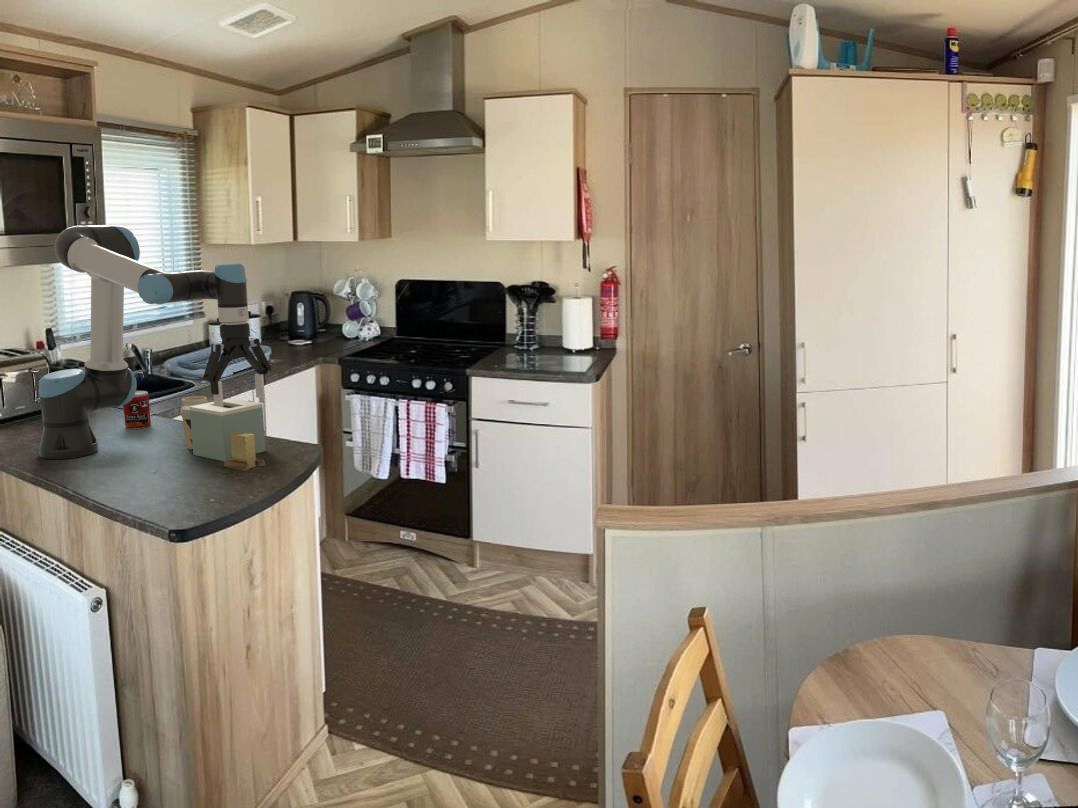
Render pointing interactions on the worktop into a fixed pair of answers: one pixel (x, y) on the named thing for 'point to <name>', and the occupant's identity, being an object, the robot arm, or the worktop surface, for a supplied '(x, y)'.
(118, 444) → the worktop surface
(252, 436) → the yellow wooden block
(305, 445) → the worktop surface
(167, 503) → the worktop surface
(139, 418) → the canned food
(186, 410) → the coffee cup
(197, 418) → the green cube box
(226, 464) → the holder
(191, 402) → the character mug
